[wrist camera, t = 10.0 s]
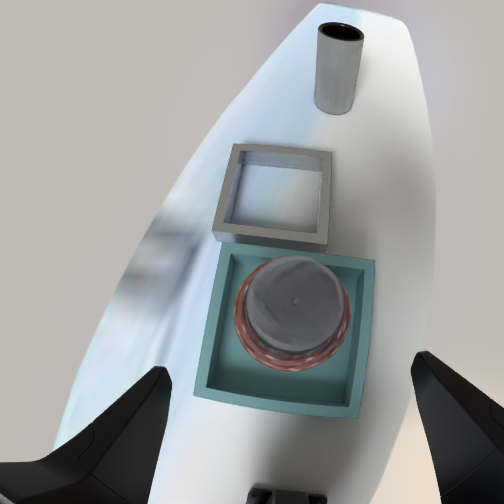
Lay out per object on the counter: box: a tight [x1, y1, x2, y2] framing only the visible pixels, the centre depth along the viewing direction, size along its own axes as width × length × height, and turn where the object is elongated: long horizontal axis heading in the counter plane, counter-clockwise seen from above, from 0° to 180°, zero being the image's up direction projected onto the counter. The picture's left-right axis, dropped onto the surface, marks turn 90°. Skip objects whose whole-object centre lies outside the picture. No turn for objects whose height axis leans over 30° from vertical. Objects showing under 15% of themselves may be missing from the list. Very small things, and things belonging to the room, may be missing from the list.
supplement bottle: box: [233, 255, 351, 372], centre depth 17 cm, size 6×6×11 cm
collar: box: [212, 144, 331, 254], centre depth 25 cm, size 9×9×2 cm
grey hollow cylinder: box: [314, 22, 364, 115], centre depth 26 cm, size 4×4×10 cm
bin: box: [193, 242, 375, 418], centre depth 21 cm, size 12×12×3 cm
